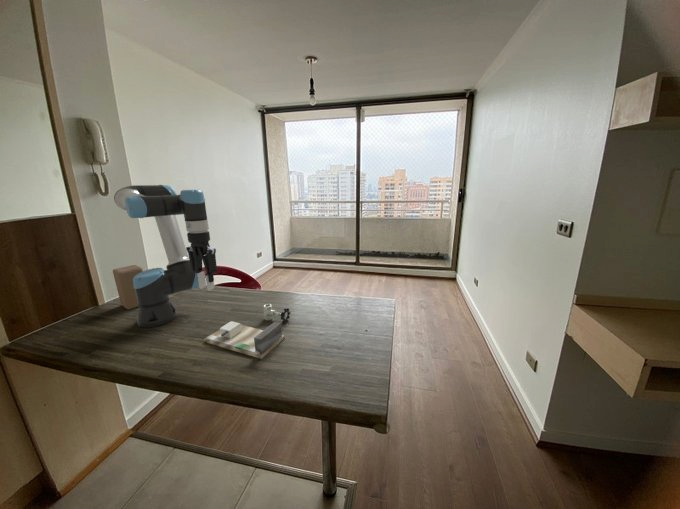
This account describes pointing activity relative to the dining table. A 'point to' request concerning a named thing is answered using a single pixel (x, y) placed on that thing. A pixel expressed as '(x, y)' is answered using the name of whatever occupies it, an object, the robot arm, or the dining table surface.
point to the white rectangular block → (230, 329)
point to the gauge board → (250, 340)
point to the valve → (275, 313)
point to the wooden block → (127, 285)
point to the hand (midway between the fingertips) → (207, 288)
